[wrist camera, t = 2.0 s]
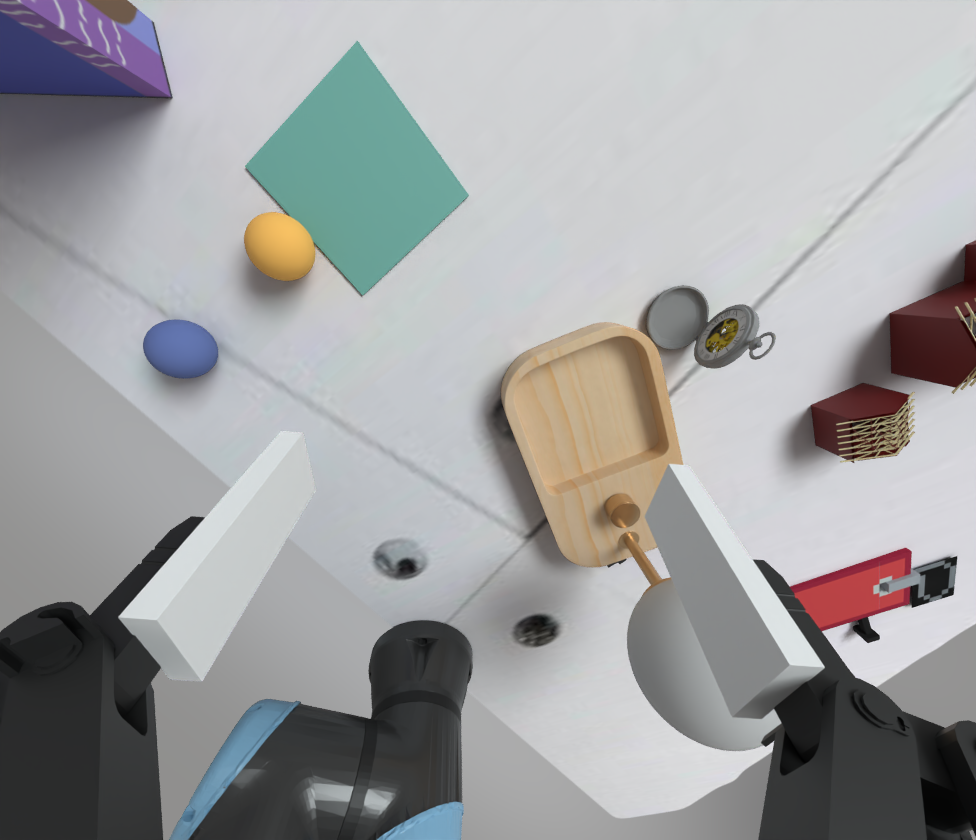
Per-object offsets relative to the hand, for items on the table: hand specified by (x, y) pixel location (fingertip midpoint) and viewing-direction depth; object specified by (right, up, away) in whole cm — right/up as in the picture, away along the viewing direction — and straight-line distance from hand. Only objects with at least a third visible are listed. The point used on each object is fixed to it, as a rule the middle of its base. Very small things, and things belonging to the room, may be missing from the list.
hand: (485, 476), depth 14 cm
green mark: (-12, +24, +20) cm, 33 cm away
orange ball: (-18, +17, +19) cm, 32 cm away
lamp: (+14, -3, +33) cm, 36 cm away
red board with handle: (+59, -26, +46) cm, 79 cm away
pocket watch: (+21, +13, +27) cm, 37 cm away
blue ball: (-29, +9, +22) cm, 37 cm away
